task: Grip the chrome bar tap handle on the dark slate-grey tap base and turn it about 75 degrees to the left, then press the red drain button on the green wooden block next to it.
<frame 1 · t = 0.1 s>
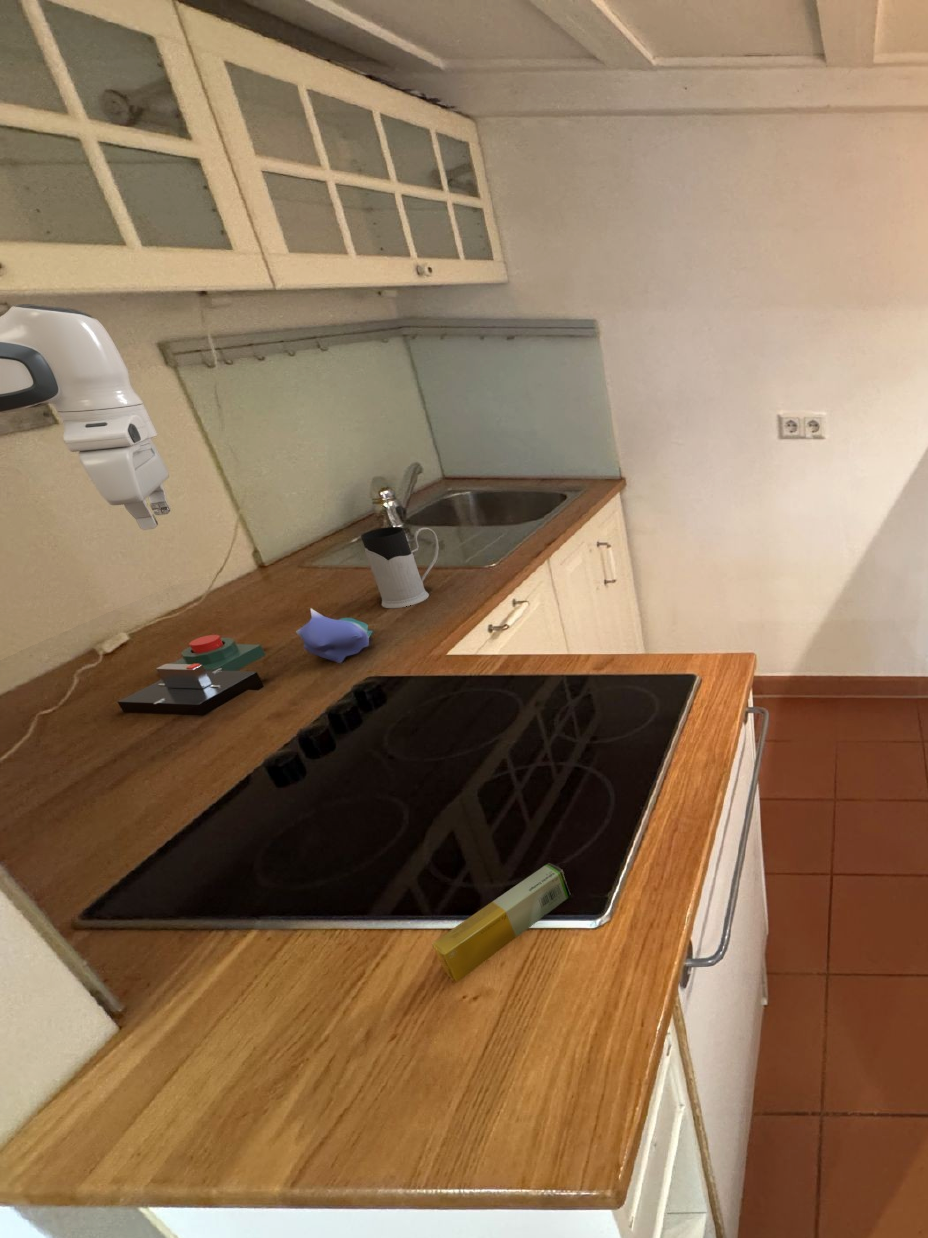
hand: (157, 520, 103), 28 cm above the worktop, tool pointing down, fingers open, 8 cm apart
medication box: (512, 937, 66), on the worktop
glass holder: (418, 596, 146), on the worktop
tap base: (197, 702, 108), on the worktop
drain button: (206, 644, 117), point 4 cm above the worktop, slide at 0.1 cm
figurine: (347, 654, 122), on the worktop
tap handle: (183, 675, 106), point 5 cm above the worktop, hinge at 0.0°
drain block: (217, 666, 119), on the worktop
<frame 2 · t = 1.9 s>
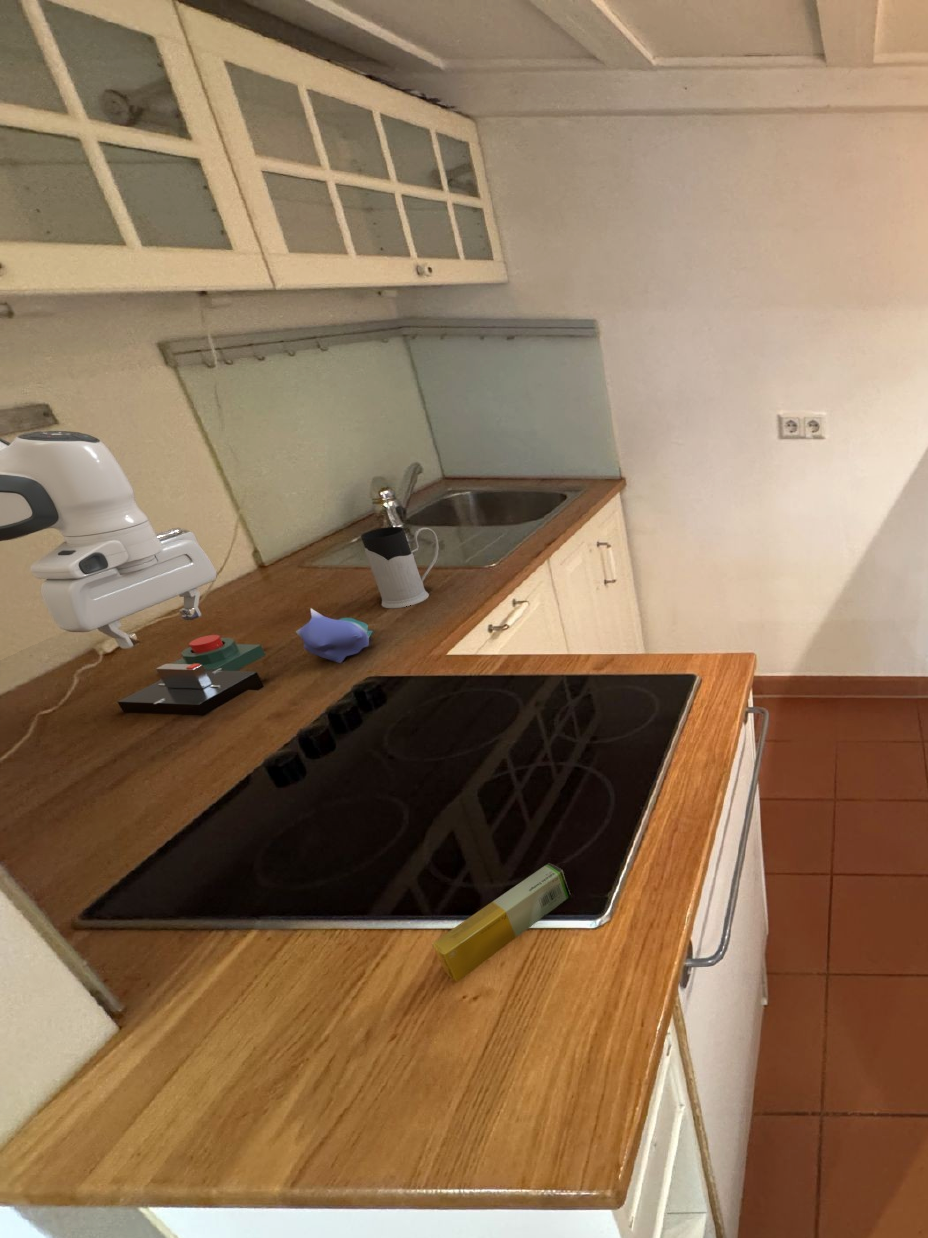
hand: (163, 631, 103), 12 cm above the worktop, tool pointing down, fingers open, 8 cm apart
nothing on the worktop moved.
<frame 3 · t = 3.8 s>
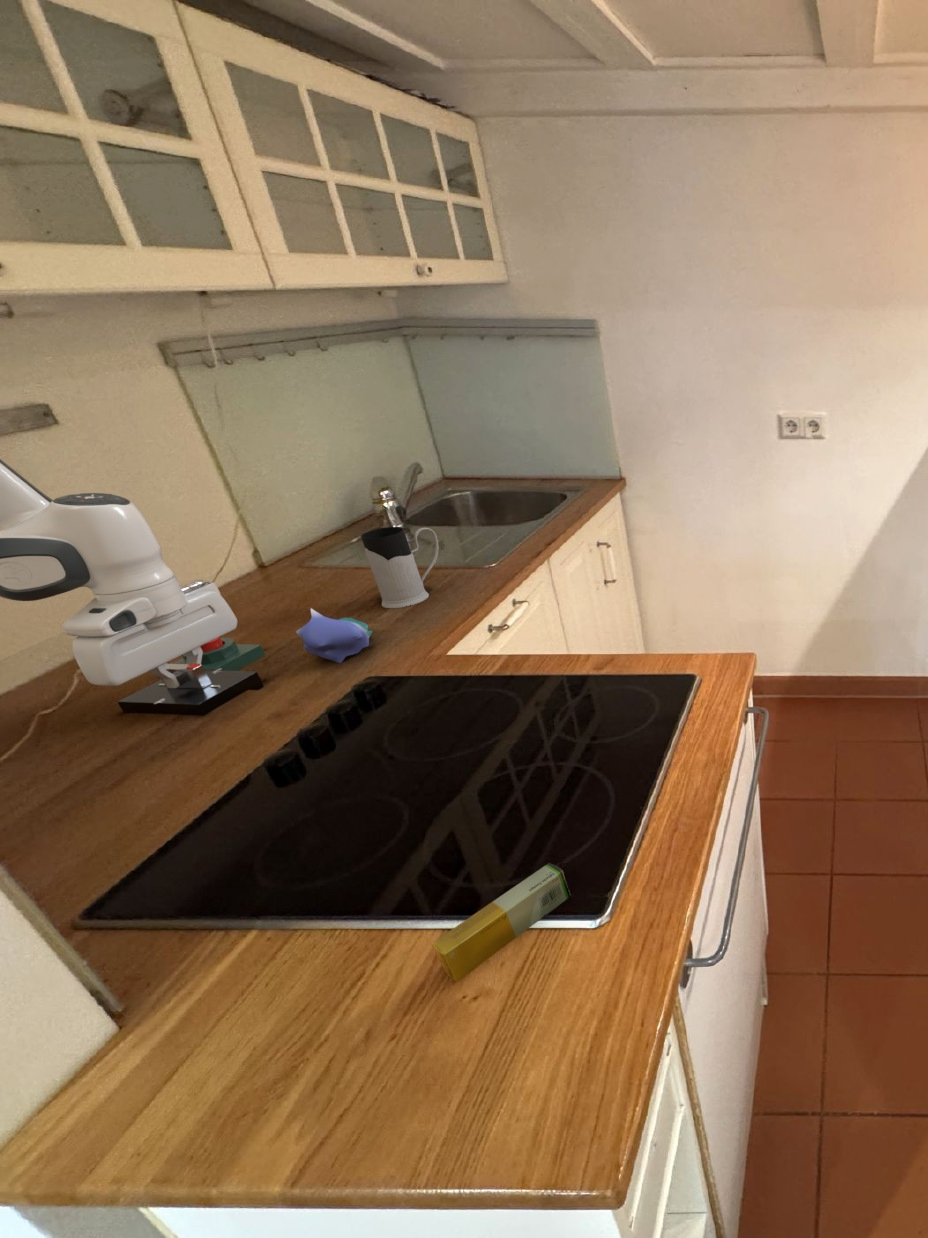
hand: (186, 681, 107), 4 cm above the worktop, tool pointing down, fingers closed on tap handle, 2 cm apart
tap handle: (183, 675, 106), point 5 cm above the worktop, hinge at -0.1°, touching gripper
everything else where it was.
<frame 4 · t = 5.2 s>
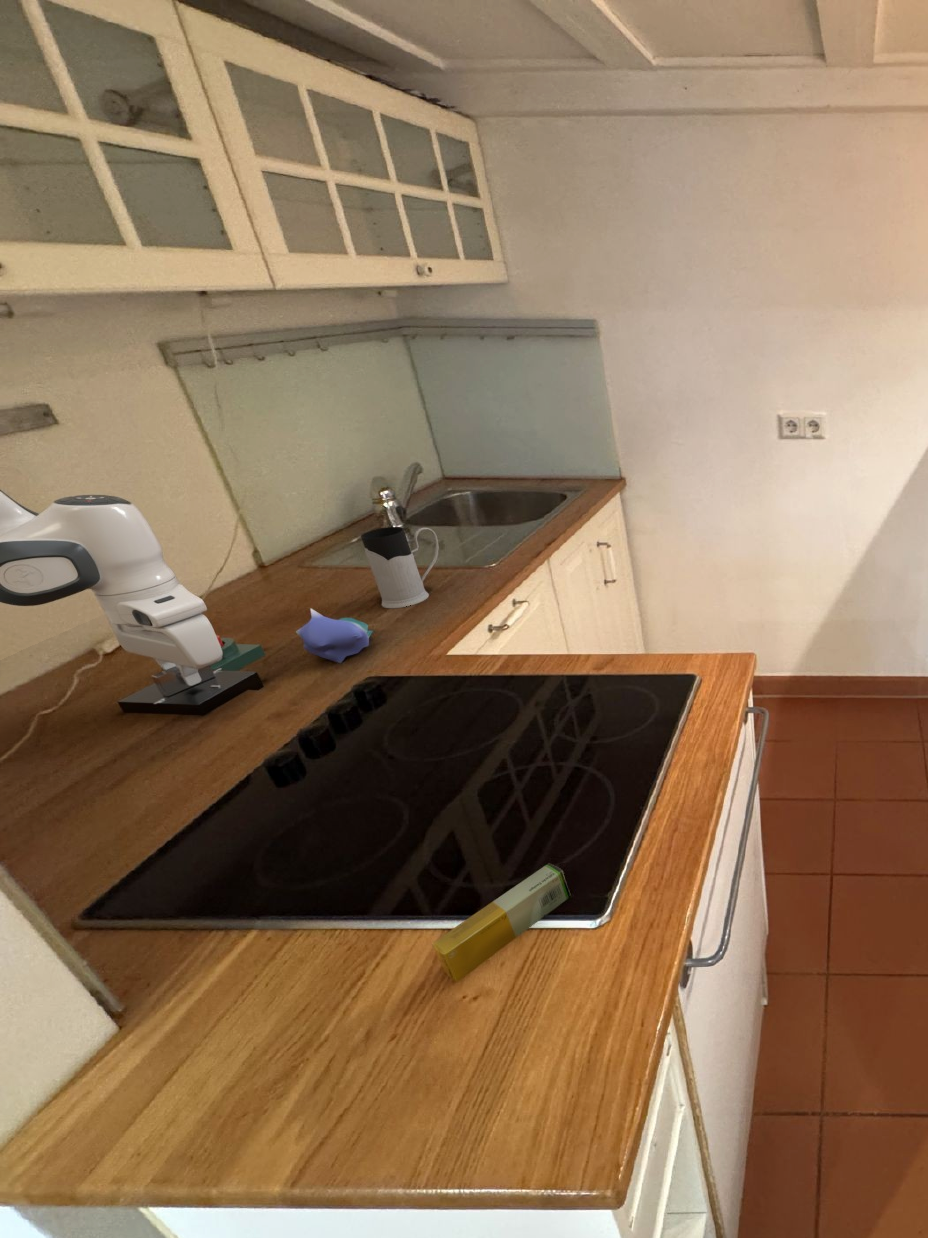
hand: (187, 681, 107), 4 cm above the worktop, tool pointing down, fingers closed on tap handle, 2 cm apart
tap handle: (183, 675, 106), point 5 cm above the worktop, hinge at 74.9°, touching gripper
everything else where it was.
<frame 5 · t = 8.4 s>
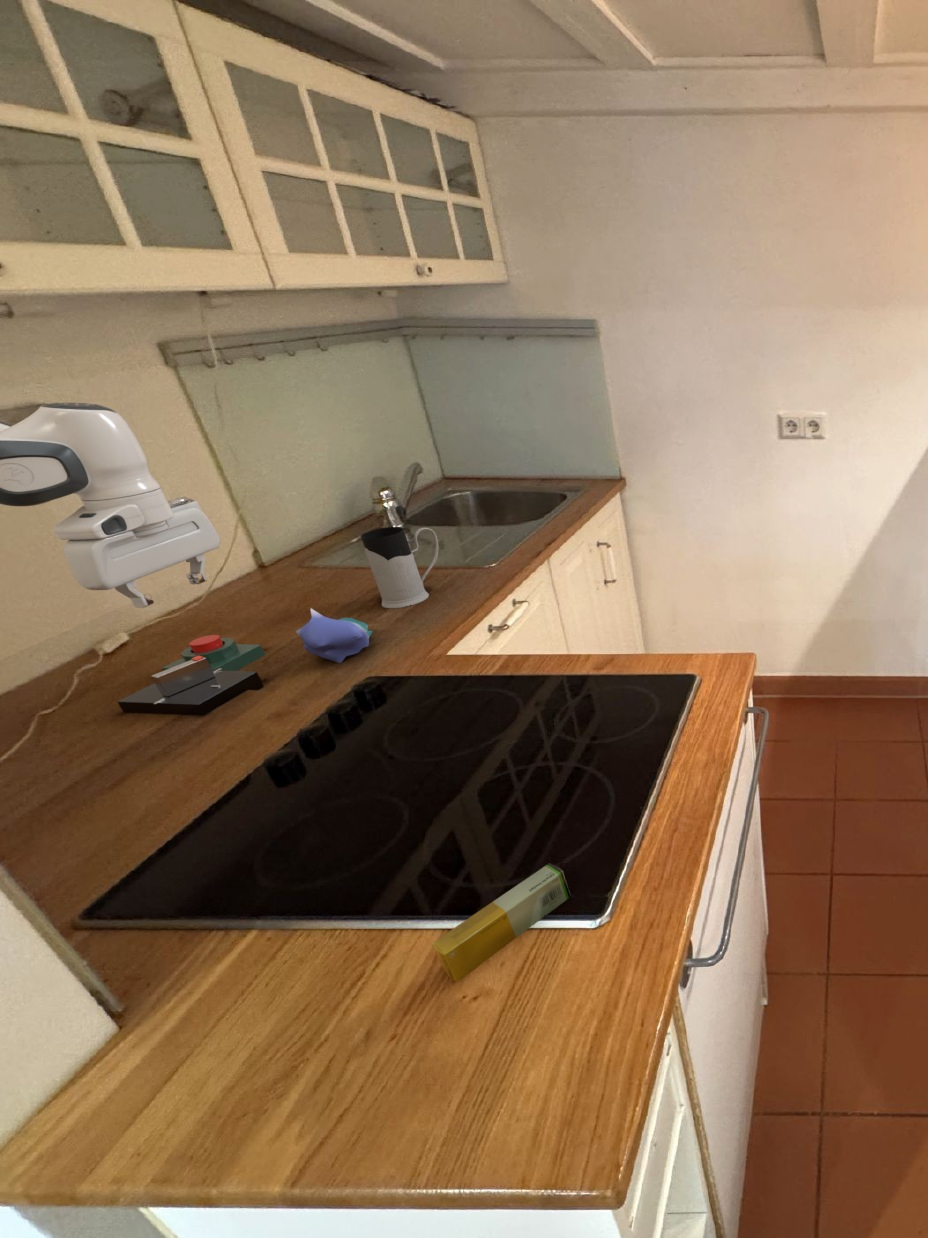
hand: (173, 593, 110), 15 cm above the worktop, tool pointing down, fingers open, 8 cm apart
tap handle: (183, 675, 106), point 5 cm above the worktop, hinge at 74.9°
everything else where it was.
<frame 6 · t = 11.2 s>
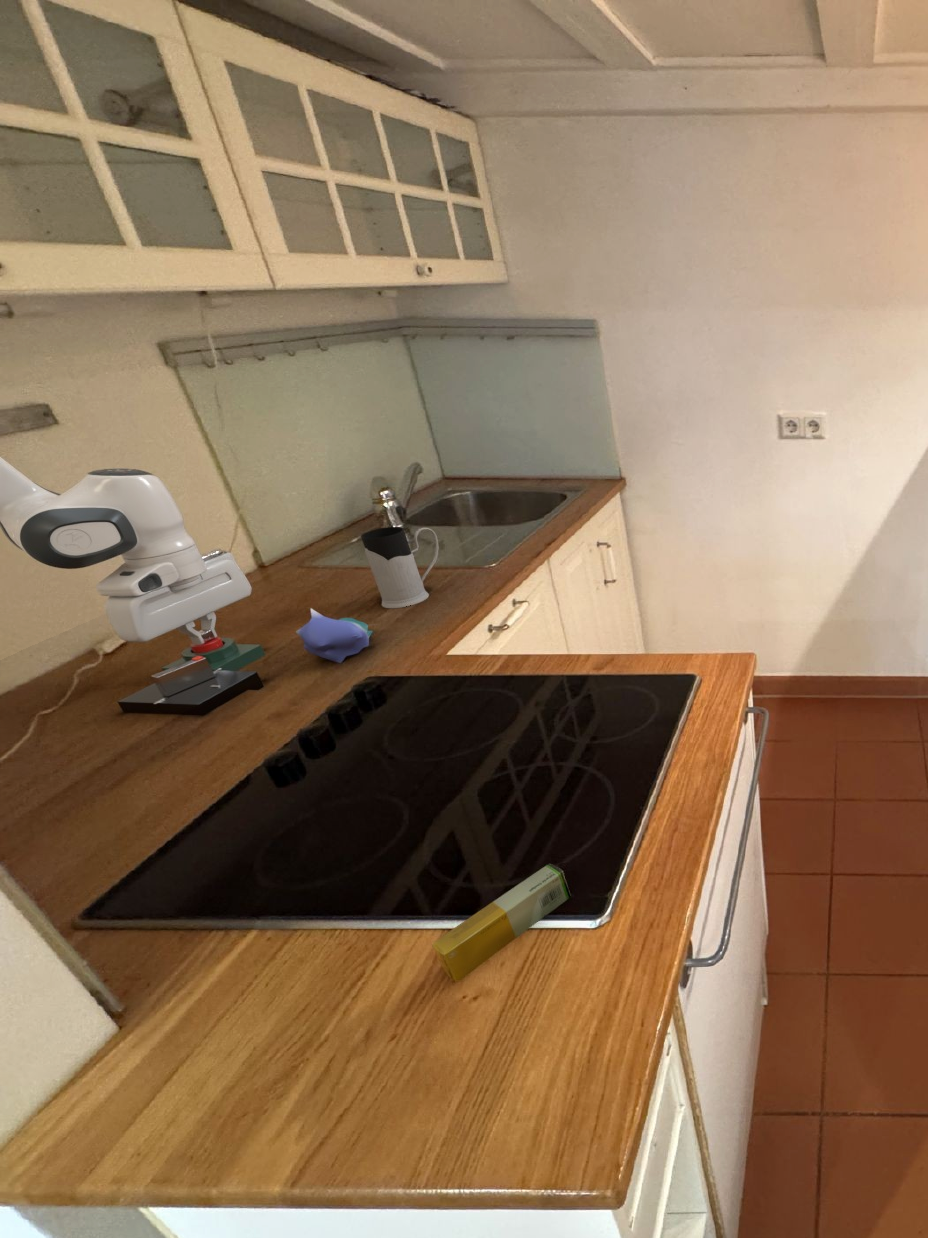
hand: (206, 641, 117), 5 cm above the worktop, tool pointing down, fingers closed, pressing on drain button
drain button: (207, 646, 117), point 4 cm above the worktop, slide at -0.2 cm, touching gripper
everything else where it was.
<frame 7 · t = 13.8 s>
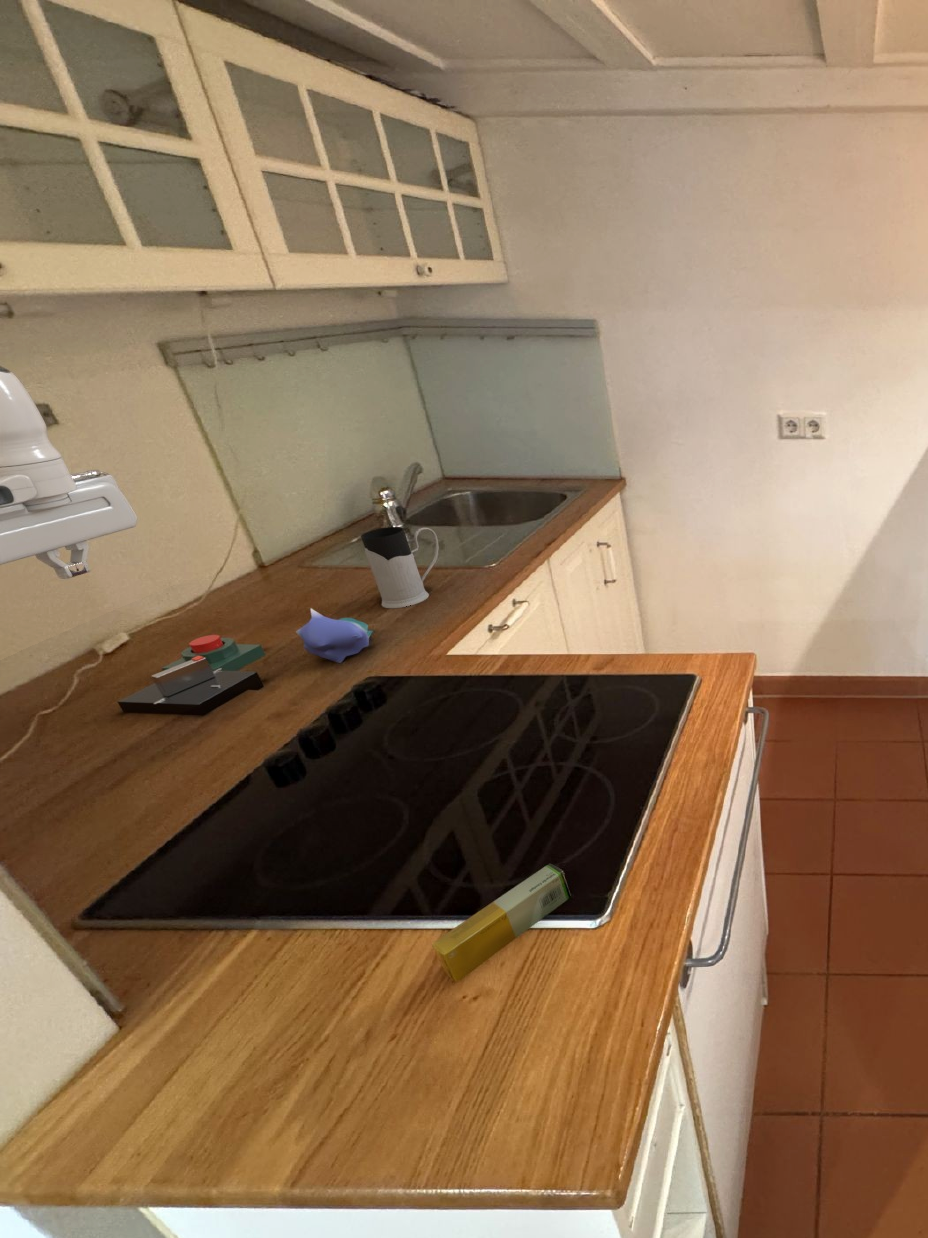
hand: (75, 575, 100), 22 cm above the worktop, tool pointing down, fingers closed
drain button: (206, 644, 117), point 4 cm above the worktop, slide at 0.1 cm
everything else where it was.
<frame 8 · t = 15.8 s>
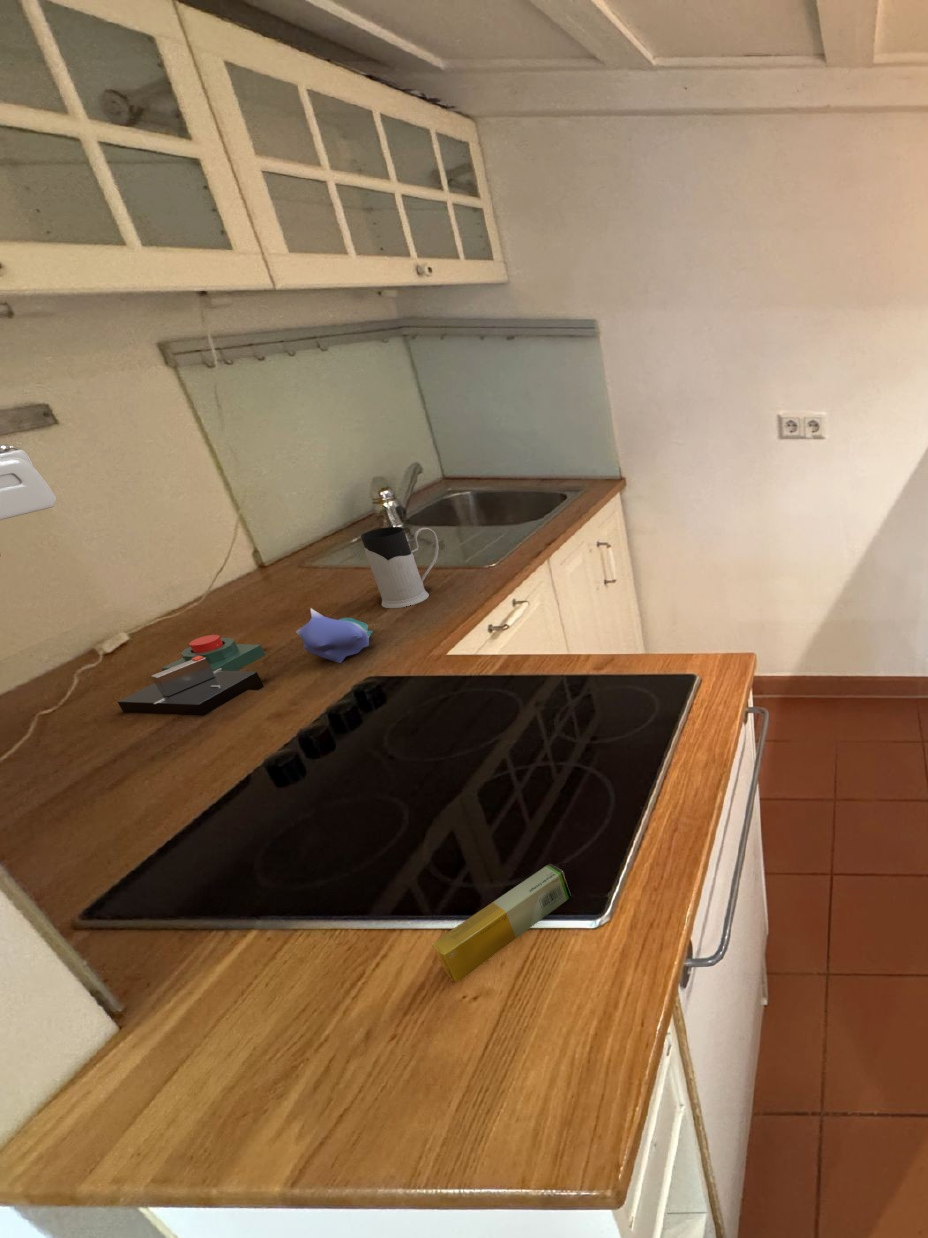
nothing on the worktop moved.
at the end: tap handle at +75° (first picture: +0°); drain button pushed in 1.0 cm at the most during the clip, back to where it started at the end; drain button slide at 0.1 cm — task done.
